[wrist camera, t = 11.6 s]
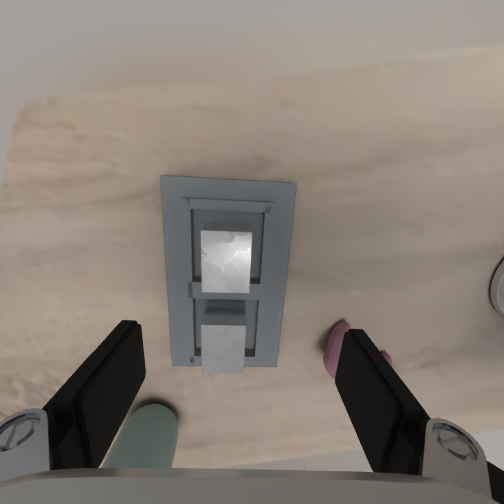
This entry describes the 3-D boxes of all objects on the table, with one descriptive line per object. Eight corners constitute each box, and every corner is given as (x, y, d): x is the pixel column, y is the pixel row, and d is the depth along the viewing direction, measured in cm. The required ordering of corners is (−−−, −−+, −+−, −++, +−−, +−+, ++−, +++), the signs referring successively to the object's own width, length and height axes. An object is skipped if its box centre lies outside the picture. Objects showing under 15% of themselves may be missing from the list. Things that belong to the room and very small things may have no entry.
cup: (159, 440, 36) (129, 534, 27) (118, 414, 34) (71, 505, 25) (194, 414, 35) (176, 503, 25) (154, 385, 33) (118, 470, 23)
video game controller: (317, 327, 33) (316, 377, 28) (344, 316, 30) (348, 369, 25) (364, 361, 35) (370, 414, 30) (392, 353, 32) (405, 410, 27)
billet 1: (250, 222, 25) (252, 232, 21) (247, 272, 27) (249, 293, 22) (208, 220, 25) (200, 230, 20) (208, 271, 27) (202, 292, 22)
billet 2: (245, 300, 28) (245, 325, 23) (243, 342, 30) (243, 372, 25) (207, 299, 28) (201, 324, 23) (208, 341, 30) (201, 372, 25)
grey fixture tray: (294, 182, 25) (300, 183, 23) (275, 361, 32) (278, 376, 30) (163, 175, 24) (154, 175, 22) (174, 360, 32) (168, 375, 29)
